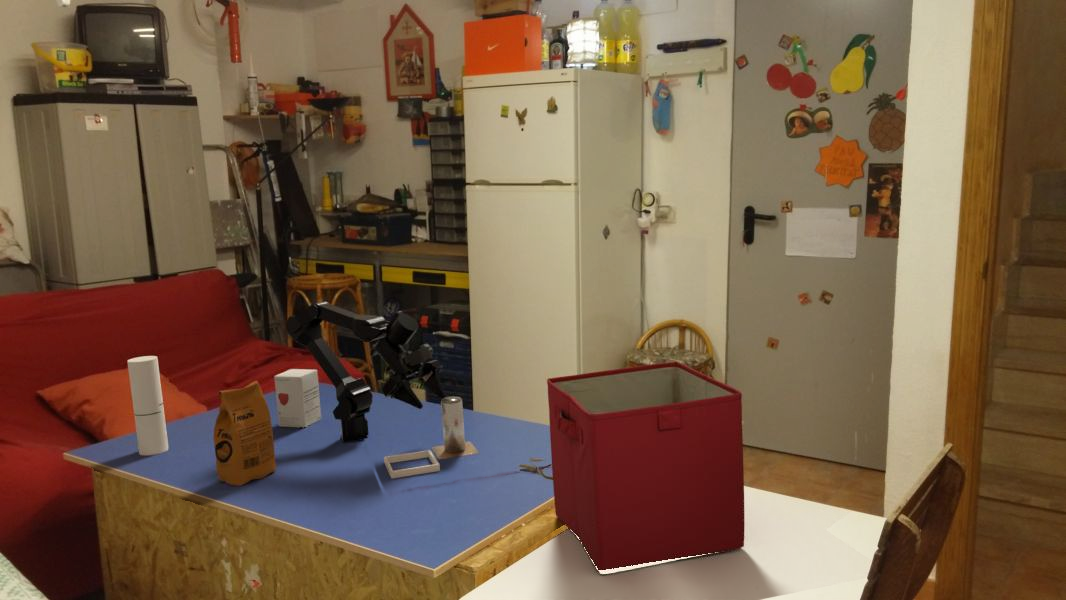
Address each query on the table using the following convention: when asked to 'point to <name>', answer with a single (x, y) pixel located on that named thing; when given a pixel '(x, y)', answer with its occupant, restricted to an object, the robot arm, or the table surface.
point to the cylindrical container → (148, 405)
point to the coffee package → (243, 436)
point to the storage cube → (647, 463)
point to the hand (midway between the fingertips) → (433, 402)
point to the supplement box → (297, 398)
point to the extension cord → (534, 467)
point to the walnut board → (468, 451)
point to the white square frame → (411, 471)
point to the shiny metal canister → (453, 425)
